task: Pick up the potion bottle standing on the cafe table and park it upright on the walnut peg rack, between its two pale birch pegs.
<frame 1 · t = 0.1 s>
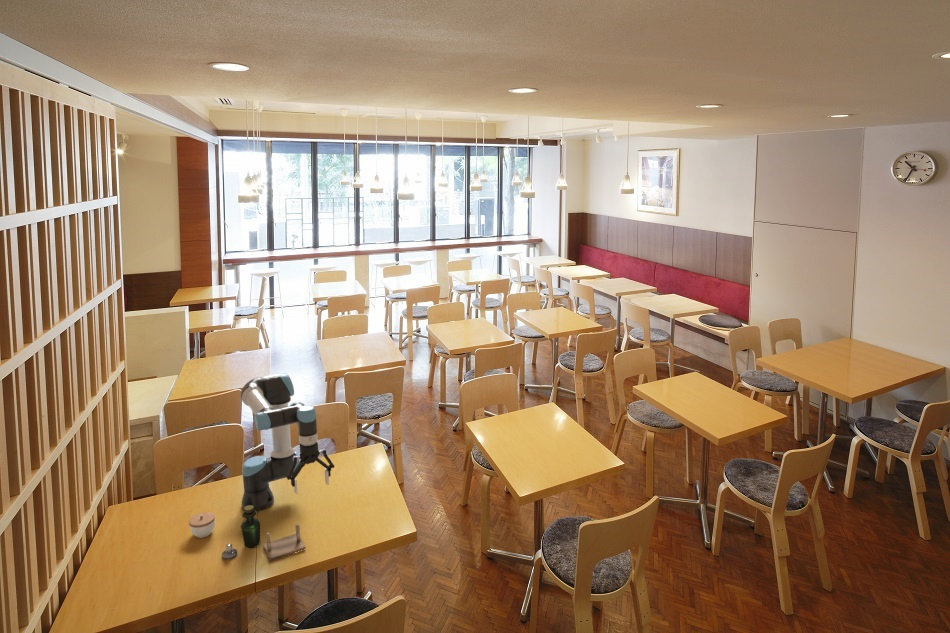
hand: (311, 488, 250), 28 cm above the table, fingers open, 13 cm apart
lidded jar: (203, 534, 265), on the table
ring nut stud: (229, 555, 250), on the table
potion bottle: (252, 544, 258), on the table
rack: (284, 548, 254), on the table
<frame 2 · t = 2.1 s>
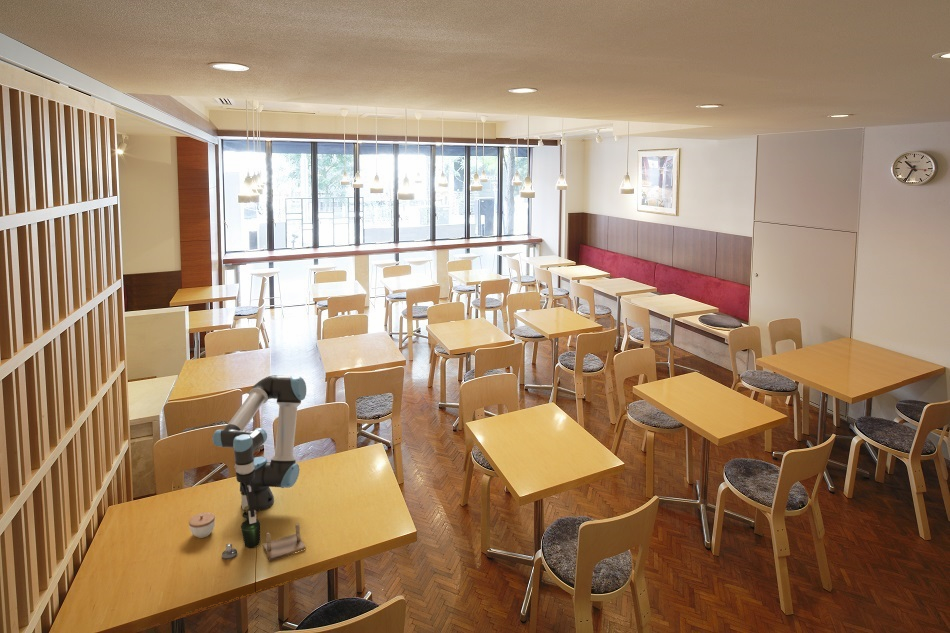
hand: (249, 515, 254), 14 cm above the table, fingers open, 13 cm apart
nothing on the table moved.
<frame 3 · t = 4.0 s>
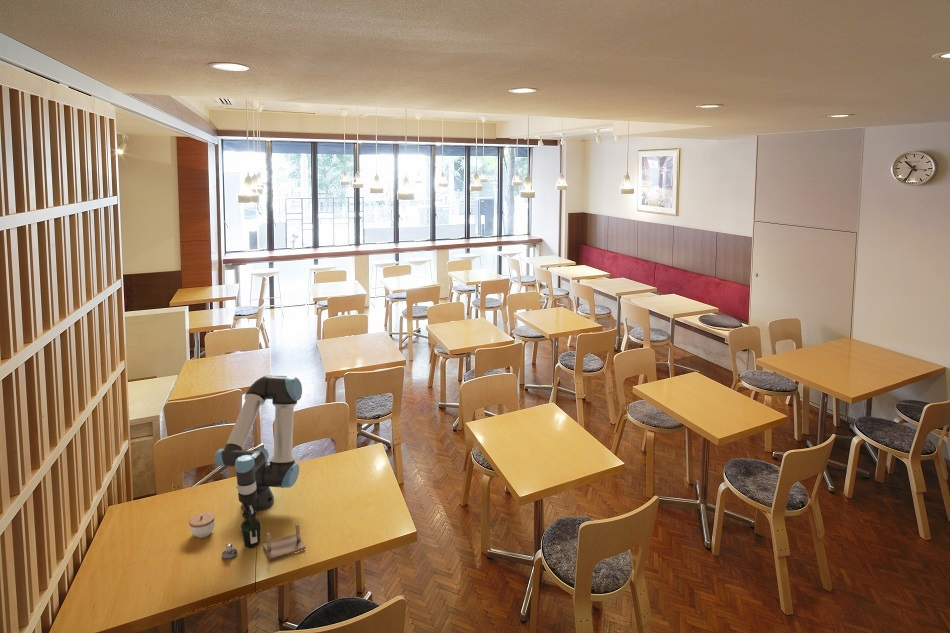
hand: (251, 537, 257), 3 cm above the table, fingers closed on potion bottle, 8 cm apart
potion bottle: (252, 544, 258), on the table, touching gripper
everything else where it was.
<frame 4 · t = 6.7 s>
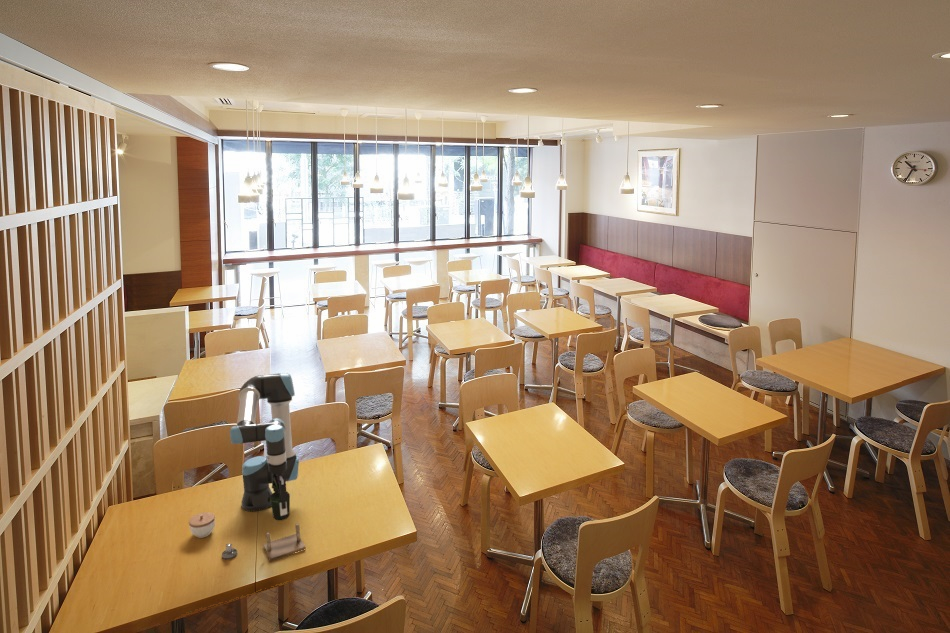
hand: (281, 509, 250), 19 cm above the table, fingers closed on potion bottle, 8 cm apart
potion bottle: (281, 517, 251), point 15 cm above the table, touching gripper
everything else where it was.
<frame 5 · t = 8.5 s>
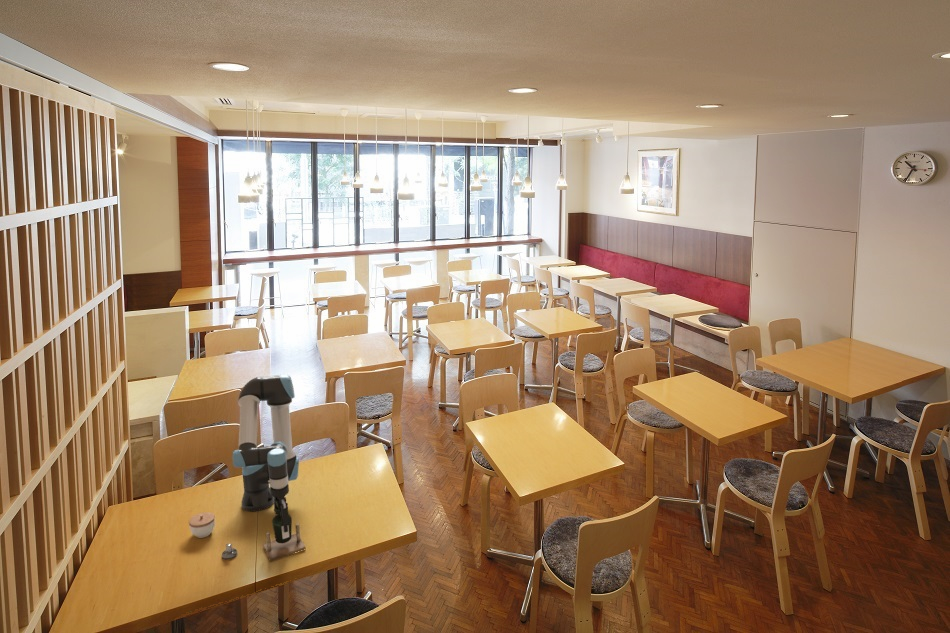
hand: (283, 532, 253), 8 cm above the table, fingers closed on potion bottle, 8 cm apart
potion bottle: (283, 539, 253), point 4 cm above the table, touching gripper
everything else where it was.
when the fingers open (6 cm above the table, at t = 9.8 s): potion bottle drops 1 cm, resting on rack.
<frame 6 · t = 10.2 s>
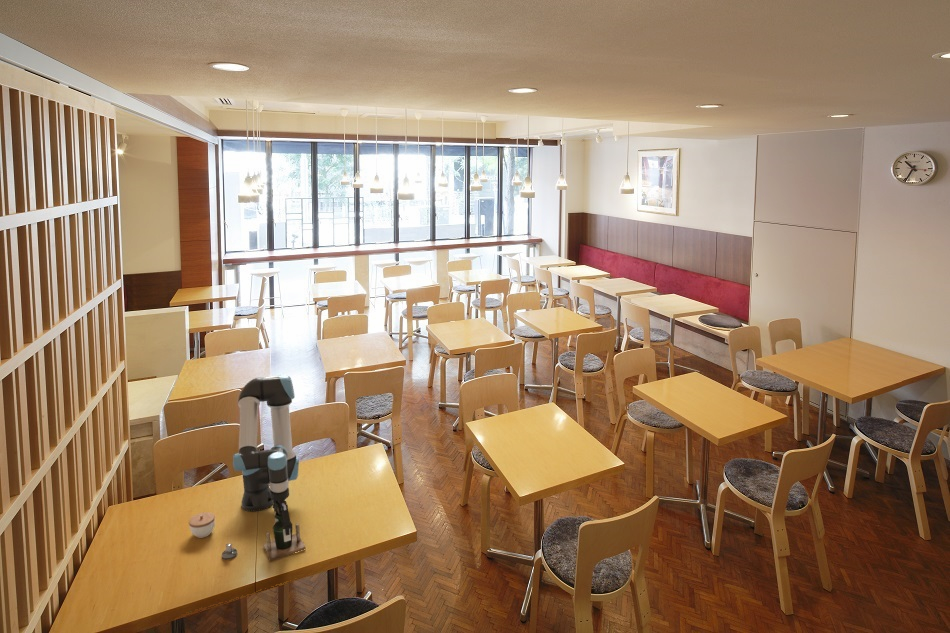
hand: (283, 532, 253), 8 cm above the table, fingers open, 13 cm apart
potion bottle: (284, 545, 254), point 1 cm above the table, touching rack
everything else where it was.
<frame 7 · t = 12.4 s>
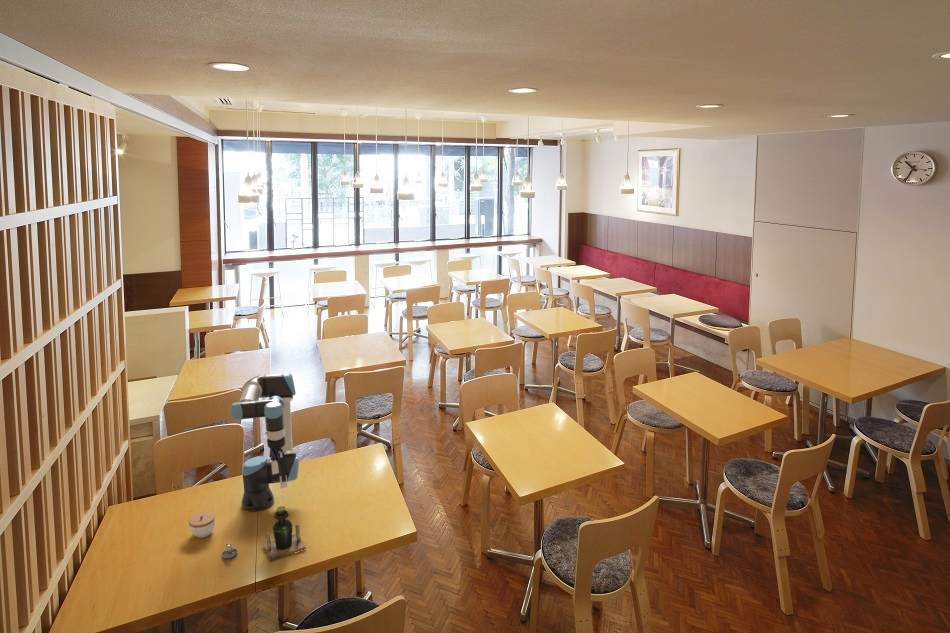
hand: (279, 480, 260), 26 cm above the table, fingers open, 13 cm apart
nothing on the table moved.
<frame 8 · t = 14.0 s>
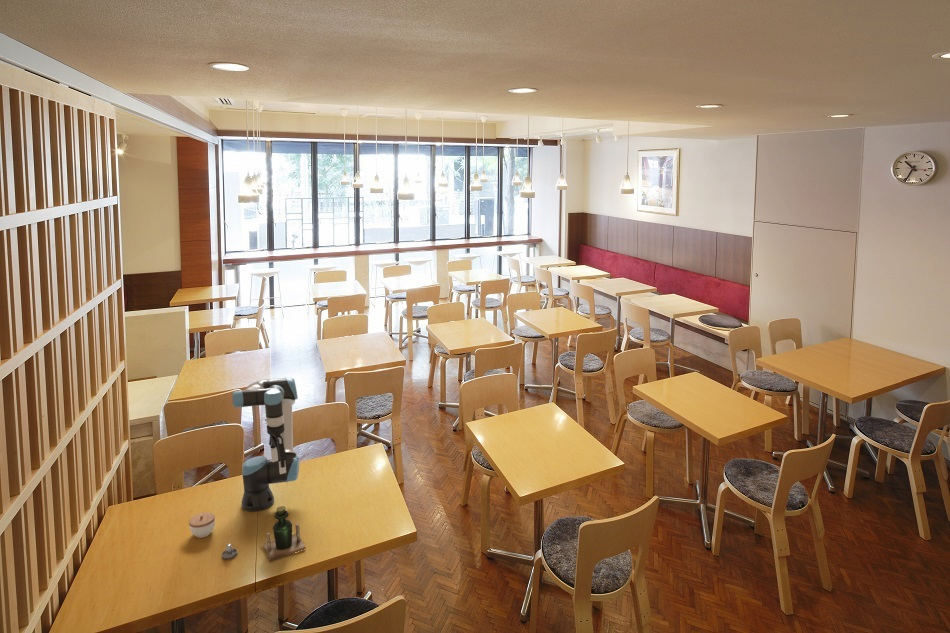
hand: (278, 467, 267), 29 cm above the table, fingers open, 13 cm apart
nothing on the table moved.
at the end: potion bottle inside the target area on the rack (0.1 cm from its centre), point 1.3 cm above the rack's base; potion bottle tilted 0°; the gripper is holding nothing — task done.
